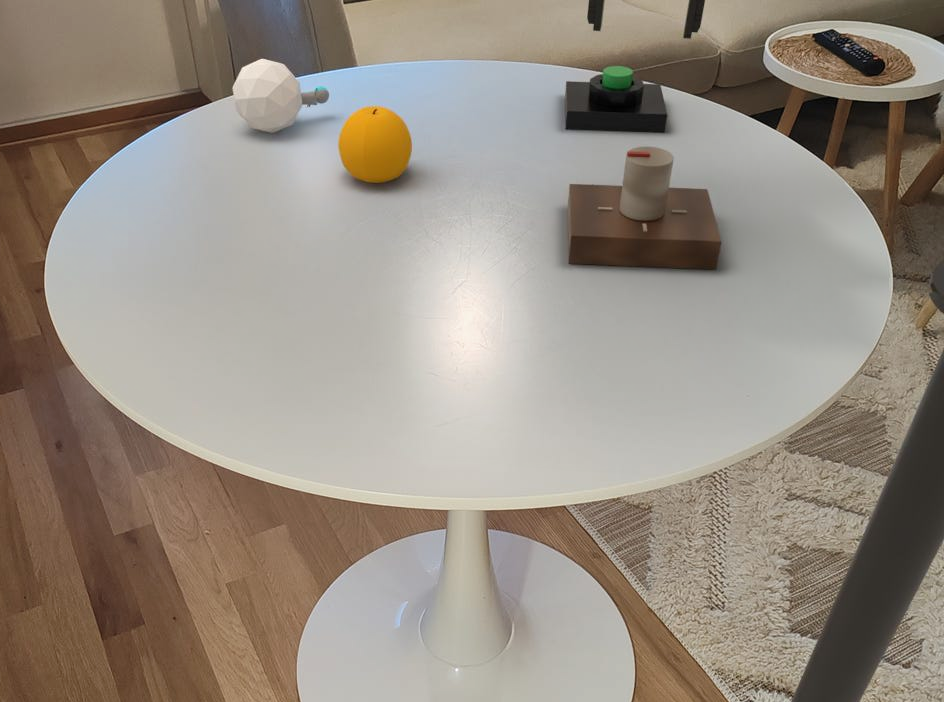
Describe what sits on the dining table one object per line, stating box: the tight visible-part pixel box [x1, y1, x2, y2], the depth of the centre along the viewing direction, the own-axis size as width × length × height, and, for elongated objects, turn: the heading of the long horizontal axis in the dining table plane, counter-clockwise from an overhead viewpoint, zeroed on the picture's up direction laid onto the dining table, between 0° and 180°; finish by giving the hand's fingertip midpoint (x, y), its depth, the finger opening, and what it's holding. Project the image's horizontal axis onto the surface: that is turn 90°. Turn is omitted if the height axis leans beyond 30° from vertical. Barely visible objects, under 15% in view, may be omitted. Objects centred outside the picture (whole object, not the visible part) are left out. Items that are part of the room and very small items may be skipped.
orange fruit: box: [337, 105, 413, 184], centre depth 100 cm, size 8×8×8 cm
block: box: [564, 73, 668, 133], centre depth 114 cm, size 12×10×4 cm
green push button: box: [602, 65, 634, 89], centre depth 113 cm, size 4×4×2 cm
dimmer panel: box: [566, 183, 722, 271], centre depth 91 cm, size 14×11×3 cm
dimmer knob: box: [620, 146, 675, 221], centre depth 88 cm, size 4×4×6 cm
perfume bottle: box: [232, 58, 330, 134], centre depth 110 cm, size 8×8×12 cm
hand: (642, 32), depth 88 cm, fingers open, 8 cm apart
